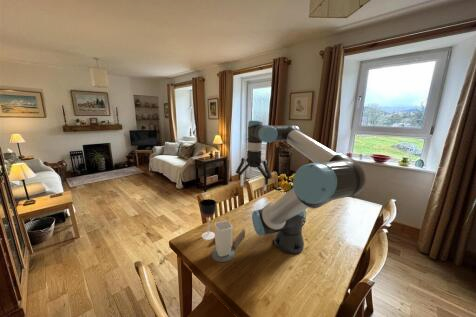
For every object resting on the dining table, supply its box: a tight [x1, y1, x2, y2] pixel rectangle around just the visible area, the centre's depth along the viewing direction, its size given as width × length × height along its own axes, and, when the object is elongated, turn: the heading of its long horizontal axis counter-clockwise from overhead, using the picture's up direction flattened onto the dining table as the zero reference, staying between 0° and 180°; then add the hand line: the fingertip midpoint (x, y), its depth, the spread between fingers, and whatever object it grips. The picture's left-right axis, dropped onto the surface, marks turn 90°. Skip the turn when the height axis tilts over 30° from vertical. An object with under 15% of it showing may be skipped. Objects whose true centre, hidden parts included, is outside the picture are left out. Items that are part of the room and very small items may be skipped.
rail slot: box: [232, 228, 246, 251], centre depth 102 cm, size 12×12×4 cm
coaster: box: [211, 247, 235, 263], centre depth 92 cm, size 11×11×1 cm
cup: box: [214, 220, 233, 257], centre depth 90 cm, size 7×7×15 cm
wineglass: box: [199, 198, 217, 241], centre depth 104 cm, size 8×9×20 cm
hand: (252, 187), depth 105 cm, fingers open, 13 cm apart
